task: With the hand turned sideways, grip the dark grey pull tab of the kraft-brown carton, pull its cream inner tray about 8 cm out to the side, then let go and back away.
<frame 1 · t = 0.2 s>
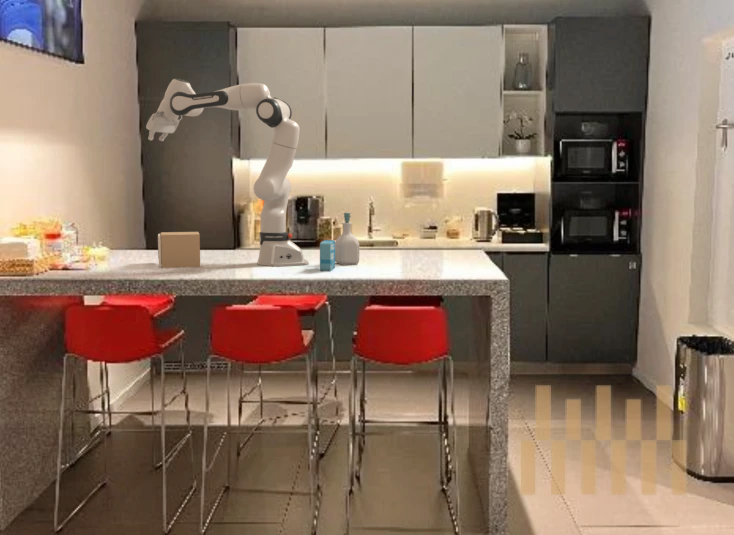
hand: (155, 140, 367), 54 cm above the countertop, tool tilted 30°, fingers open, 8 cm apart
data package: (327, 270, 345), on the countertop
carton: (180, 265, 353), on the countertop
soap bottle: (346, 264, 363), on the countertop
inner tray: (177, 248, 354), point 7 cm above the countertop, slide at 0.0 cm
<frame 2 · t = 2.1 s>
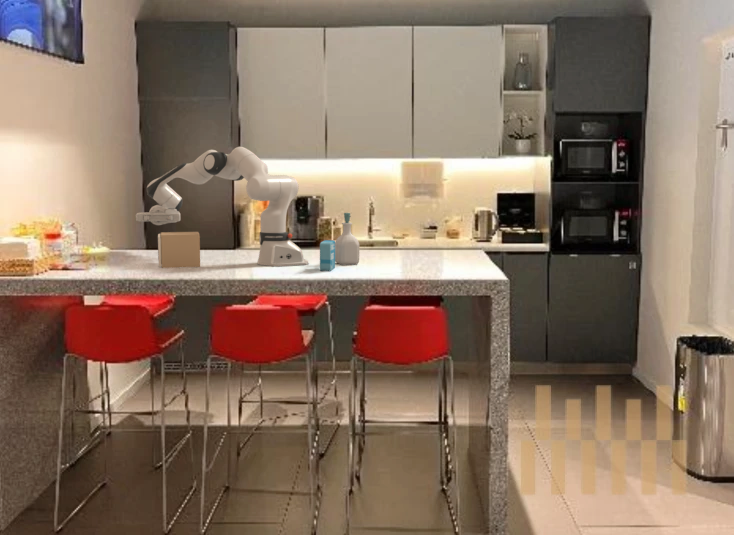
hand: (158, 218, 374), 18 cm above the countertop, tool horizontal, fingers open, 8 cm apart
nothing on the countertop moved.
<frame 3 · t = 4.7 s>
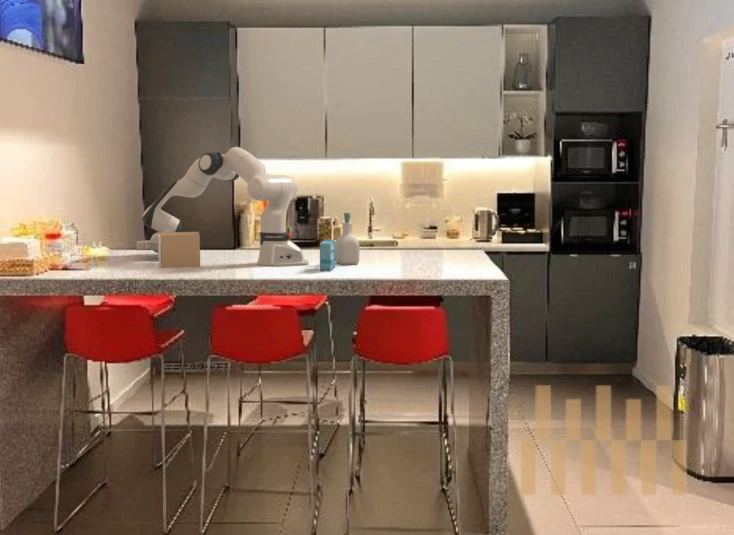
hand: (159, 246, 364), 7 cm above the countertop, tool horizontal, fingers open, 8 cm apart
nothing on the countertop moved.
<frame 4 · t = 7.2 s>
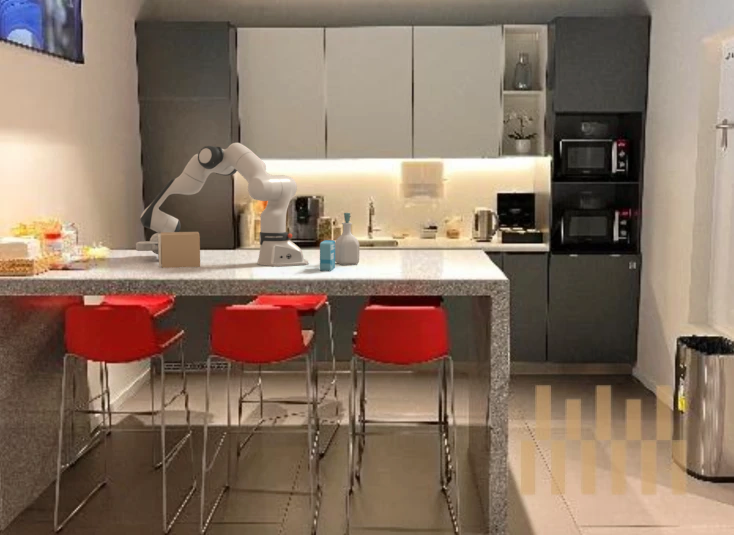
hand: (159, 247, 358), 7 cm above the countertop, tool horizontal, fingers closed on inner tray
inner tray: (177, 248, 354), point 7 cm above the countertop, slide at 0.0 cm, touching gripper
everything else where it was.
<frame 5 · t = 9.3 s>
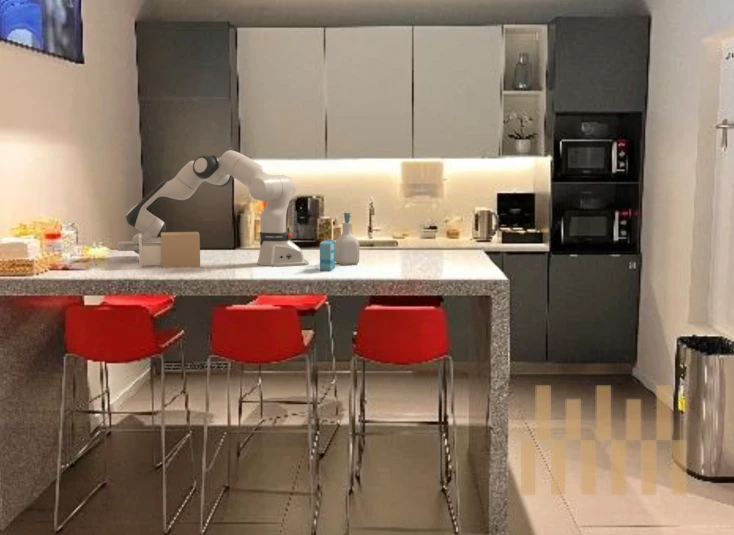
hand: (140, 247, 356), 7 cm above the countertop, tool horizontal, fingers closed on inner tray
inner tray: (158, 249, 352), point 7 cm above the countertop, slide at 7.9 cm, touching gripper
everything else where it was.
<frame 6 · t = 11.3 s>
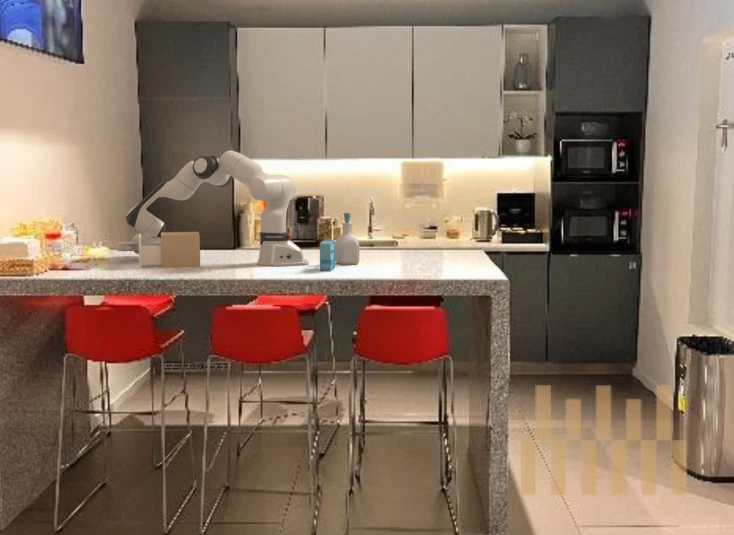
hand: (140, 248, 356), 7 cm above the countertop, tool horizontal, fingers open, 8 cm apart
inner tray: (158, 249, 352), point 7 cm above the countertop, slide at 8.0 cm
everything else where it was.
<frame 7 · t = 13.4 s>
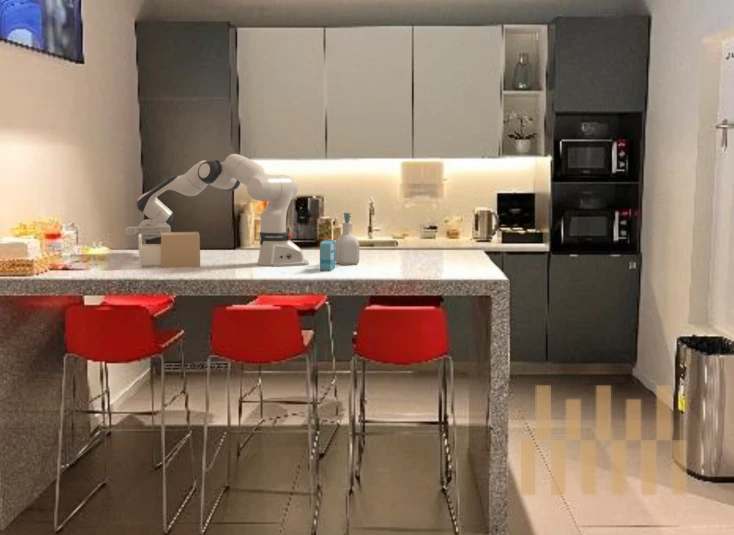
hand: (148, 231, 369), 13 cm above the countertop, tool horizontal, fingers open, 8 cm apart
nothing on the countertop moved.
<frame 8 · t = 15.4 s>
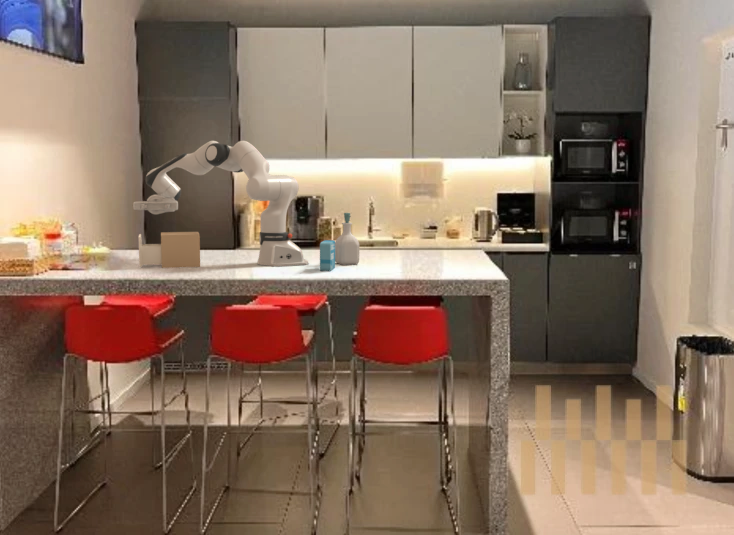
hand: (155, 206, 371), 24 cm above the countertop, tool horizontal, fingers open, 8 cm apart
nothing on the countertop moved.
at the end: inner tray slide at 8.0 cm; the gripper is holding nothing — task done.
